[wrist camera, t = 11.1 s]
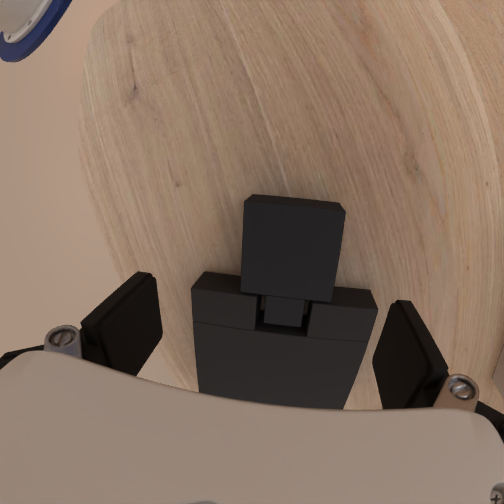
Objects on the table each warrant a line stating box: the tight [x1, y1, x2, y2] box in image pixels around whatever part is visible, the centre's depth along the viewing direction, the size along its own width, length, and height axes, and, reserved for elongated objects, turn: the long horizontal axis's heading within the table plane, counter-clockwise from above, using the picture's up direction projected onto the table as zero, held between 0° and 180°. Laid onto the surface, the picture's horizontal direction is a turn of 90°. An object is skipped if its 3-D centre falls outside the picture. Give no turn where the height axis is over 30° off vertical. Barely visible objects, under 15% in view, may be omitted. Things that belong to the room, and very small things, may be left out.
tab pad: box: [240, 194, 346, 327], centre depth 21 cm, size 6×9×3 cm
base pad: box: [191, 272, 378, 409], centre depth 23 cm, size 14×12×3 cm
